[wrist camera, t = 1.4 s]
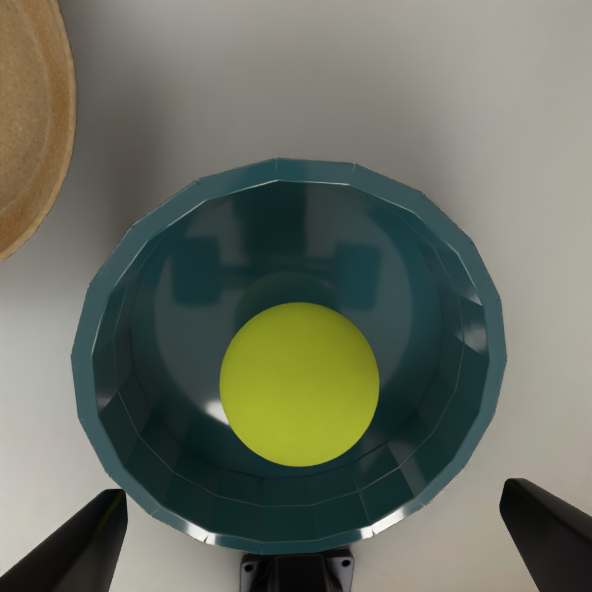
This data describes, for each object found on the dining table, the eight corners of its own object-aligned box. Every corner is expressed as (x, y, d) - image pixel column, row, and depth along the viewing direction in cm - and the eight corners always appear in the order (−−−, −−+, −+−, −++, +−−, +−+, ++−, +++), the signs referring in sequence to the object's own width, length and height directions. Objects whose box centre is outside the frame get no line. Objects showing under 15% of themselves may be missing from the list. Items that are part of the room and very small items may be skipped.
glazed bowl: (424, 476, 20) (465, 546, 16) (131, 483, 18) (94, 563, 14) (476, 181, 16) (549, 176, 12) (105, 157, 14) (43, 141, 10)
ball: (349, 405, 18) (392, 505, 12) (227, 405, 17) (209, 512, 11) (362, 288, 16) (418, 338, 10) (227, 283, 15) (207, 334, 10)
